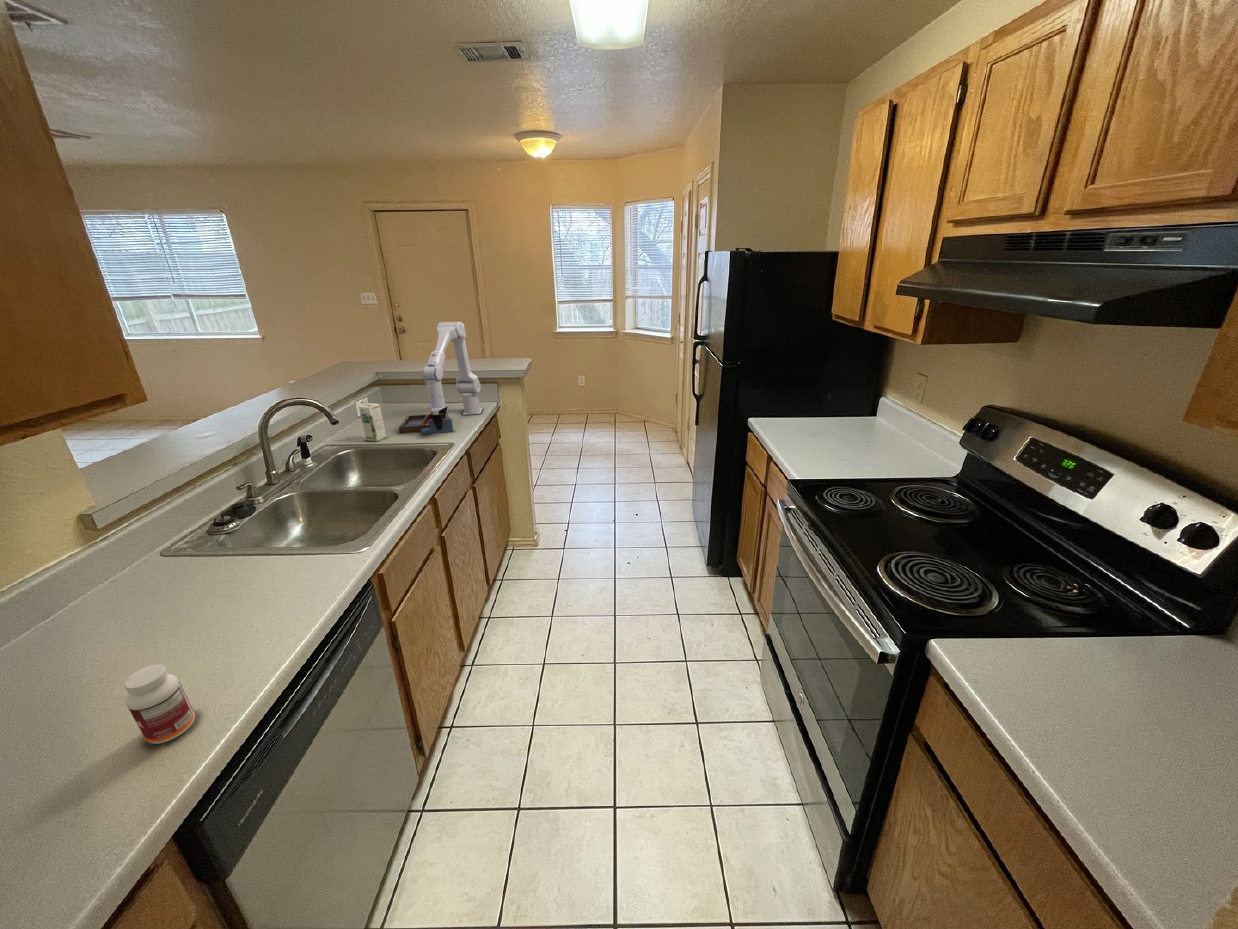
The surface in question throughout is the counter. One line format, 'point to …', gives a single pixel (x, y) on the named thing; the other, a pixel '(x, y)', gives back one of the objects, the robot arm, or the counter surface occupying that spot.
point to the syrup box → (372, 421)
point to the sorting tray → (415, 423)
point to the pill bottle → (158, 704)
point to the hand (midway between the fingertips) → (441, 426)
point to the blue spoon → (446, 428)
